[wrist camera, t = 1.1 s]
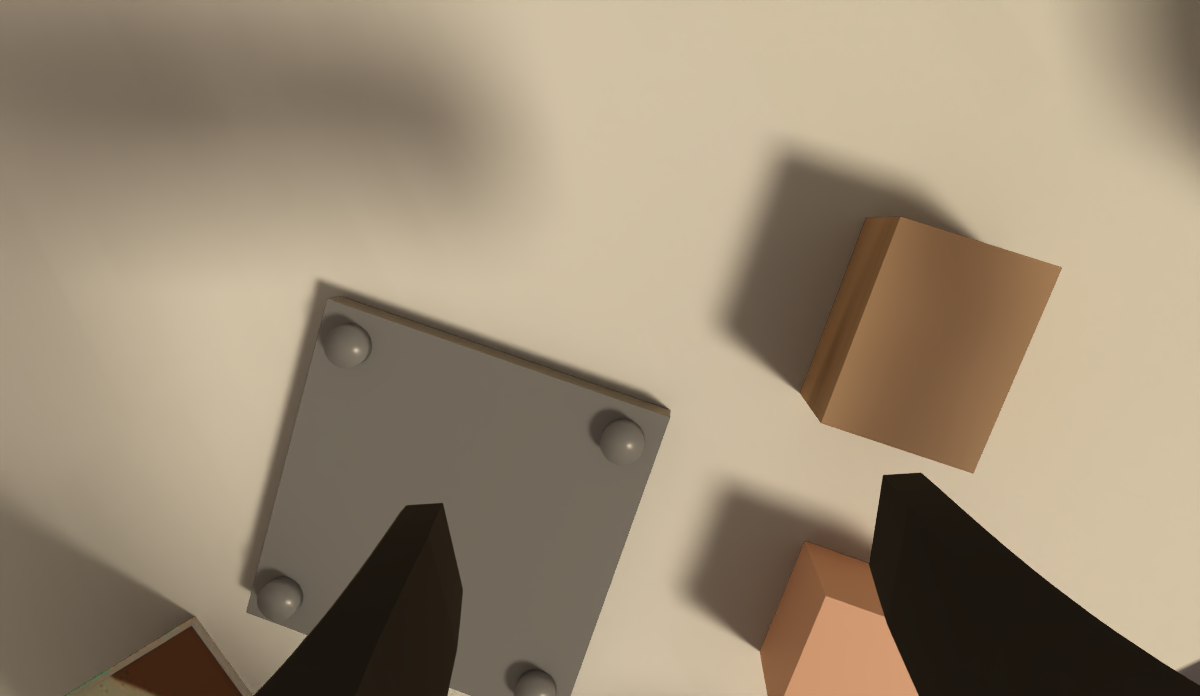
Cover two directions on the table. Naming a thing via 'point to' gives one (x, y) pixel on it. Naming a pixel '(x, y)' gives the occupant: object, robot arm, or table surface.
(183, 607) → the table surface
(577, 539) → the base plate
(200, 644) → the food container
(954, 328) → the walnut brick
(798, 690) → the terracotta block
